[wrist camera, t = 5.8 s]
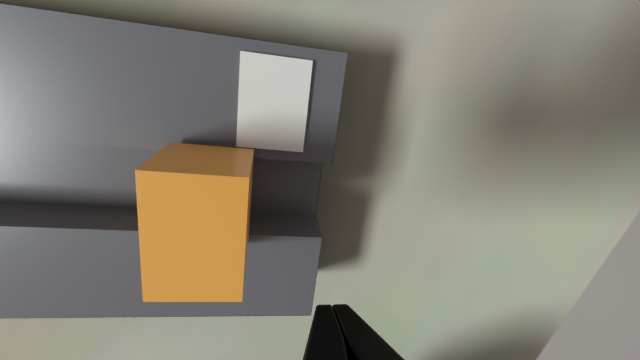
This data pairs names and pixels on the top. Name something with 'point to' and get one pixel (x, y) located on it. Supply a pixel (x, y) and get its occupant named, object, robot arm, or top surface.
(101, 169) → the breaker block
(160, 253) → the handle
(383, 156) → the top surface
